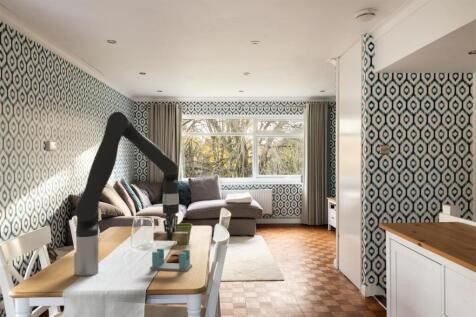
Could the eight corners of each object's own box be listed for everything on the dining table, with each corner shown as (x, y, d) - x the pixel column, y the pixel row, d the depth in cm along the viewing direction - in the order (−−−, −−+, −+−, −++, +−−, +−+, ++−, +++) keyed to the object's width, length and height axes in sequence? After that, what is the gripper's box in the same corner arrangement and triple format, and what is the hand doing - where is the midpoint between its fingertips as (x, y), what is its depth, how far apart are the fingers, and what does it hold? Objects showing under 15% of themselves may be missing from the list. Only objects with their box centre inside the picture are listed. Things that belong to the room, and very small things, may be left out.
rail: (153, 240, 170) (153, 233, 170) (155, 238, 173) (155, 231, 173) (186, 241, 168) (186, 233, 168) (188, 239, 172) (188, 231, 172)
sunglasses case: (171, 254, 195) (177, 243, 195) (182, 260, 195) (188, 250, 195) (164, 264, 177) (171, 252, 177) (177, 271, 177) (184, 259, 177)
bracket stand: (149, 269, 168) (149, 252, 168) (156, 264, 176) (156, 248, 176) (187, 271, 166) (186, 254, 166) (192, 266, 173) (192, 249, 173)
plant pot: (194, 241, 225) (194, 223, 225) (190, 245, 213) (190, 226, 213) (176, 240, 226) (175, 222, 226) (170, 245, 215) (170, 226, 215)
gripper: (168, 201, 178) (168, 235, 179) (157, 204, 164) (157, 242, 165) (183, 201, 177) (183, 236, 177) (173, 205, 163) (173, 243, 163)
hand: (171, 239), depth 171 cm, fingers closed on rail, 3 cm apart
